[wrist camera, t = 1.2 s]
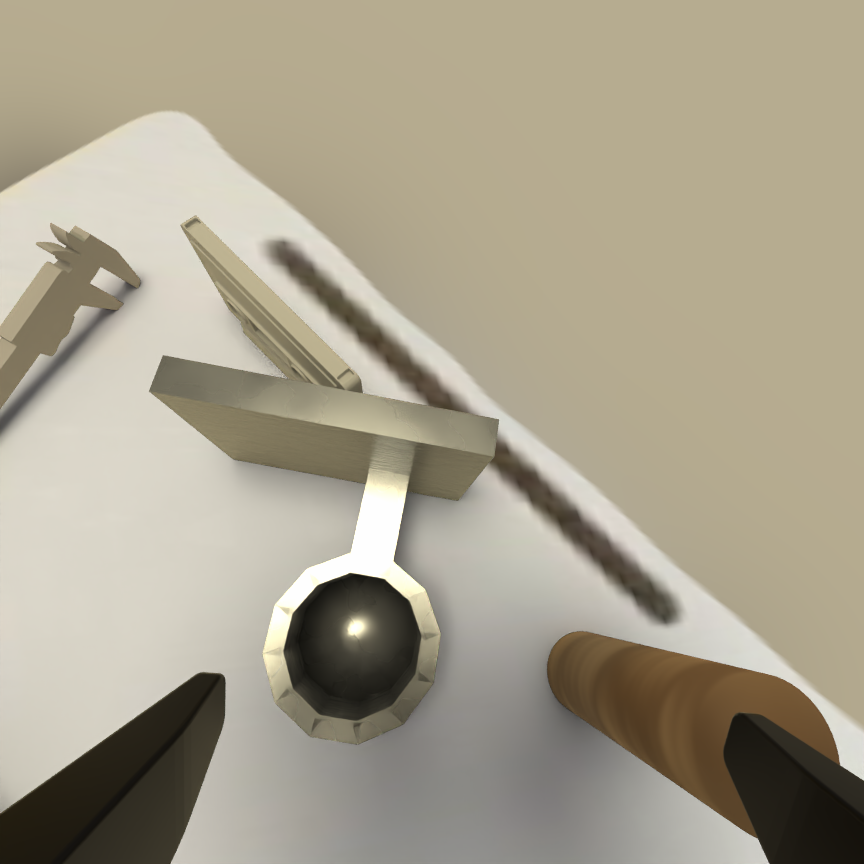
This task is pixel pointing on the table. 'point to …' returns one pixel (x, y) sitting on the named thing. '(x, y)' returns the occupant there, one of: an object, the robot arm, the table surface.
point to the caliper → (56, 301)
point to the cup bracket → (373, 543)
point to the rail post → (677, 710)
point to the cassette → (269, 316)
